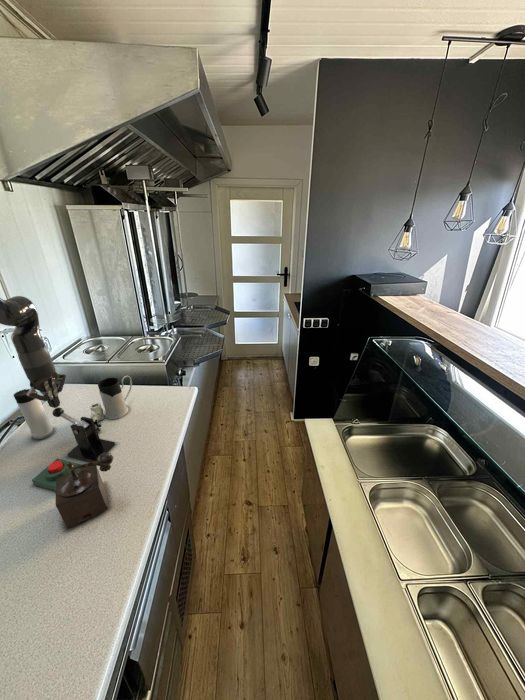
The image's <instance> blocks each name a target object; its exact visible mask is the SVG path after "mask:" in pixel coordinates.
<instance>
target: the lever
mask: <svg viewBox="0 0 525 700" xmlns="http://www.w3.org/2000/svg"><path fill="white" fill-rule="evenodd" d="M51 413H52V416H53V417H54V418H60V417H61V418H62V419H64V420H66V421H68V422H70V423H71V424H74V425H79V426H83V427H84V430H85V431H87V430H88V429H89V424H88V423H87V422H85V421H83V420H82V421H81V420H80V421H79V420H78V419H76V418H74V417H72V416H71V415H68V414H66V413H65V410H64V409H63V408H62V407H57V408H53V410H52V412H51Z"/></svg>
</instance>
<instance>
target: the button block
mask: <svg viewBox="0 0 525 700" xmlns="http://www.w3.org/2000/svg"><path fill="white" fill-rule="evenodd" d="M55 461H61V462H62V464H63V469H62V470H61V471H59V472H57V473H54V474H51V473H50V471H49V469H48V466H46V467H45V468H44V469H42V471H41V472H40V473H38V474H37V475H36V476H35V477H33V478H32V479H31V482H32V484H33V485H34V486H37V487H40V488H43V489H46V490H49V491H54V492H56V478H58V477H61V476H63V475H66V474H69V473H71V472H70V471H68V467H67V463H69V462H71V463H72V465H73V466H77V465H81V464H82V463H78V462H74V461H70V460H66V459H62V458H58V457H57V458H55V460H54V461H52V462H51V463H53V462H55ZM79 469H81V468H79ZM79 469H74V471H76V470H79Z"/></svg>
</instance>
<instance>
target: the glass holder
mask: <svg viewBox="0 0 525 700" xmlns="http://www.w3.org/2000/svg"><path fill="white" fill-rule="evenodd" d="M127 377H128V378H129V390H128V392H127V394H126V396H124V393H123V390H122V389H123V388H124V380H125V378H127ZM97 387H98V390H99V391H98V392H99V395H100V398H101V401H102V405H103V408H104V411H105V417H106V418H107V419H109V420H116V419H120V418H123V417H124V416H125V415H127V414H128V412H129V407H128V406H127V403H126V401H127V399H128V397H129V396H130V393H131V391H132V388H133V380H132V377H131V376H129V375H124V376H123V377H122V378H121V382H120V380H119V379H118V378H117V377H108V378H105V379H102V380H100V381H99V382H98V383H97Z"/></svg>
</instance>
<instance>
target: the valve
mask: <svg viewBox="0 0 525 700" xmlns="http://www.w3.org/2000/svg"><path fill="white" fill-rule="evenodd" d="M89 408H90V412H91V416H90V418H92V419H93V421H94V424H95V427H96V430H97V432H101V430H102V427H103V423H99V422H100V421H102V420H104V418H105V413H104V409H103V408H102V404H101V403H100V402H94V403H92V404H90V407H89Z"/></svg>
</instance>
